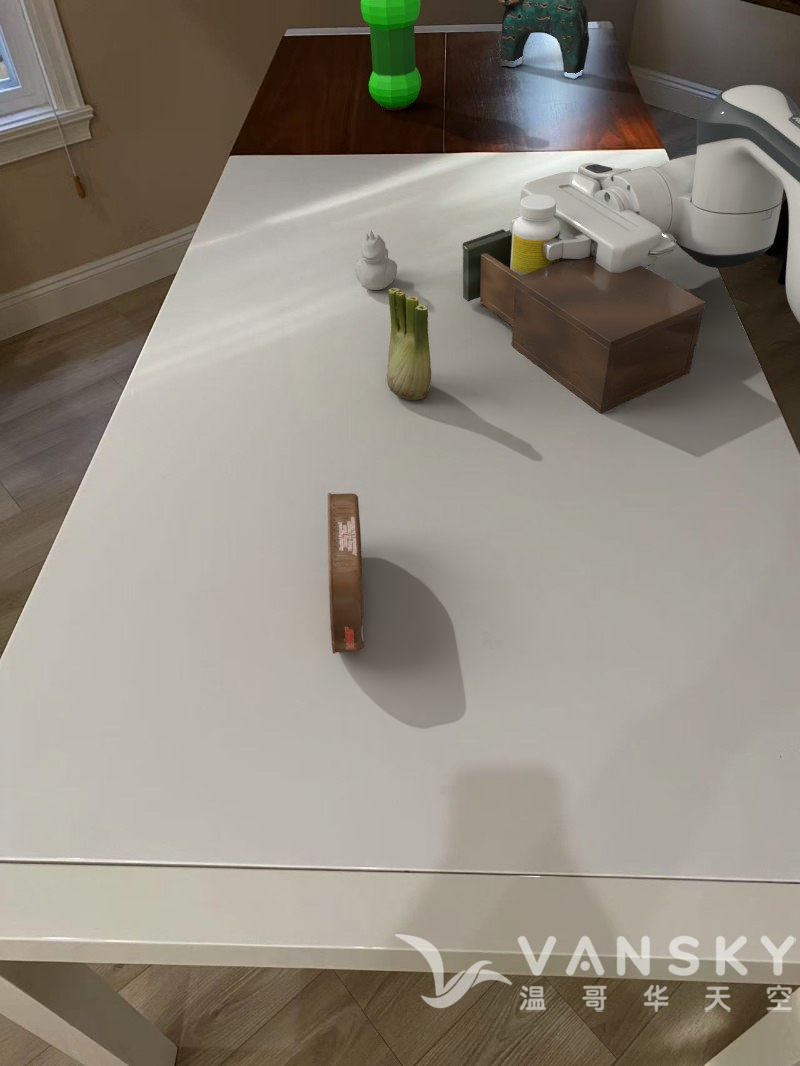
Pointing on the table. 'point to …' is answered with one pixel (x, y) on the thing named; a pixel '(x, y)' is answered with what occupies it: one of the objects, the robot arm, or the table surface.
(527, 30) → the ceramic cat
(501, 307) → the drawer
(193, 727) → the table surface
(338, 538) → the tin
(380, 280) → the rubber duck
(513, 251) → the supplement bottle
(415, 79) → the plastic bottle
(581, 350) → the cabinet
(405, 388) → the fennel bulb
